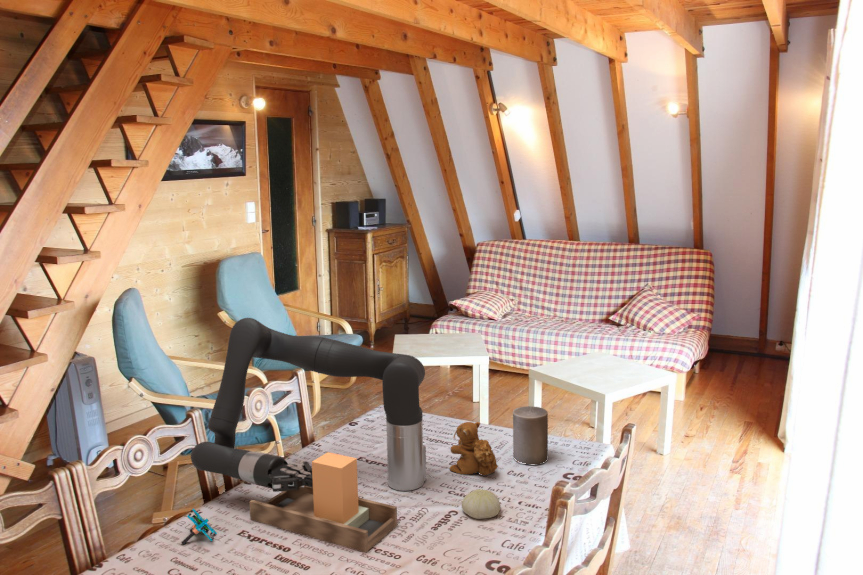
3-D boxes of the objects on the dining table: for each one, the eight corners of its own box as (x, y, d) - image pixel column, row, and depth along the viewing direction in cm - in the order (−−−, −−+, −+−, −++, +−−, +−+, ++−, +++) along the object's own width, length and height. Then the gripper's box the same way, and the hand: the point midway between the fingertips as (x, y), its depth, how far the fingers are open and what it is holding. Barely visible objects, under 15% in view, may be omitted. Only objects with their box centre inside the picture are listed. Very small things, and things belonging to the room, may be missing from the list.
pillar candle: (553, 456, 196) (553, 404, 194) (539, 468, 188) (539, 415, 186) (521, 449, 202) (521, 399, 199) (506, 461, 194) (506, 409, 191)
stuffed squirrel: (468, 458, 196) (468, 413, 194) (508, 473, 186) (508, 425, 184) (444, 469, 189) (443, 422, 187) (483, 485, 179) (483, 436, 177)
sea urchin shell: (505, 496, 169) (500, 484, 162) (499, 529, 164) (494, 518, 158) (469, 491, 172) (462, 479, 165) (462, 523, 167) (455, 512, 161)
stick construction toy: (221, 535, 152) (196, 509, 151) (195, 560, 149) (170, 534, 148) (217, 525, 163) (194, 501, 162) (192, 548, 160) (169, 524, 159)
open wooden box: (250, 519, 163) (249, 501, 162) (286, 496, 174) (285, 479, 173) (365, 552, 148) (365, 532, 147) (397, 525, 159) (396, 506, 159)
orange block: (314, 516, 158) (311, 461, 156) (330, 504, 163) (327, 452, 161) (343, 523, 154) (341, 468, 152) (358, 512, 159) (356, 458, 157)
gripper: (242, 464, 161) (302, 479, 153) (280, 444, 173) (337, 457, 165) (244, 495, 162) (303, 511, 154) (281, 473, 174) (338, 487, 166)
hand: (321, 483), depth 160 cm, fingers closed
